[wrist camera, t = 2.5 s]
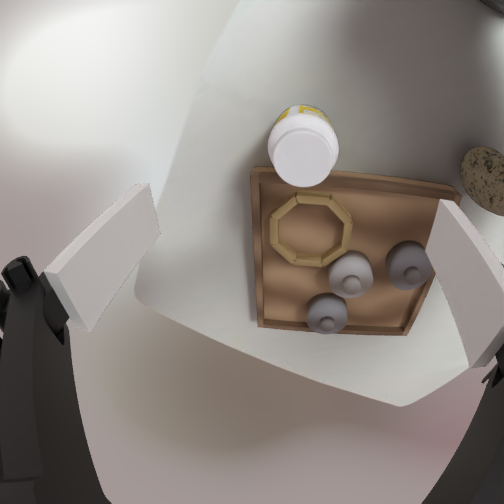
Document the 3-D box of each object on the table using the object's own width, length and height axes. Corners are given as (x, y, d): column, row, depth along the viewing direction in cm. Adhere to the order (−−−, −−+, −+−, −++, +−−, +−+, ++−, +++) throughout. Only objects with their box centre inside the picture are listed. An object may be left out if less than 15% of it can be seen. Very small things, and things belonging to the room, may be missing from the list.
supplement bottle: (284, 161, 28) (273, 203, 20) (269, 110, 25) (250, 130, 17) (337, 151, 26) (349, 190, 18) (324, 99, 23) (333, 112, 15)
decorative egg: (480, 194, 24) (524, 243, 16) (443, 180, 25) (486, 228, 17) (496, 149, 21) (549, 187, 13) (458, 130, 21) (512, 163, 13)
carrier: (254, 166, 29) (244, 184, 25) (452, 186, 25) (471, 207, 21) (260, 314, 42) (254, 340, 38) (404, 322, 38) (409, 349, 34)
